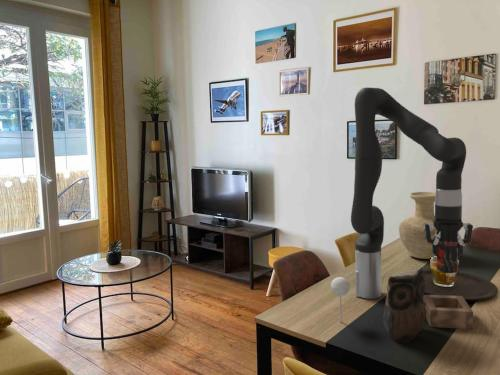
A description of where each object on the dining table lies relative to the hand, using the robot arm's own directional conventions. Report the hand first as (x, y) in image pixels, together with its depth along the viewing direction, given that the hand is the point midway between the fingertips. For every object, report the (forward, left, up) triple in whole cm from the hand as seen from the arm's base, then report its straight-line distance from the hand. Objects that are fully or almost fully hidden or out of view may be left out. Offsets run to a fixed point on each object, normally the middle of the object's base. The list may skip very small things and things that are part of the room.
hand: (447, 255), depth 130 cm
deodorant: (0, 0, -5) cm, 5 cm away
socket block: (0, 0, -21) cm, 21 cm away
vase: (+5, +66, -21) cm, 69 cm away
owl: (-15, -10, -21) cm, 28 cm away
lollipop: (-33, -6, -21) cm, 40 cm away
